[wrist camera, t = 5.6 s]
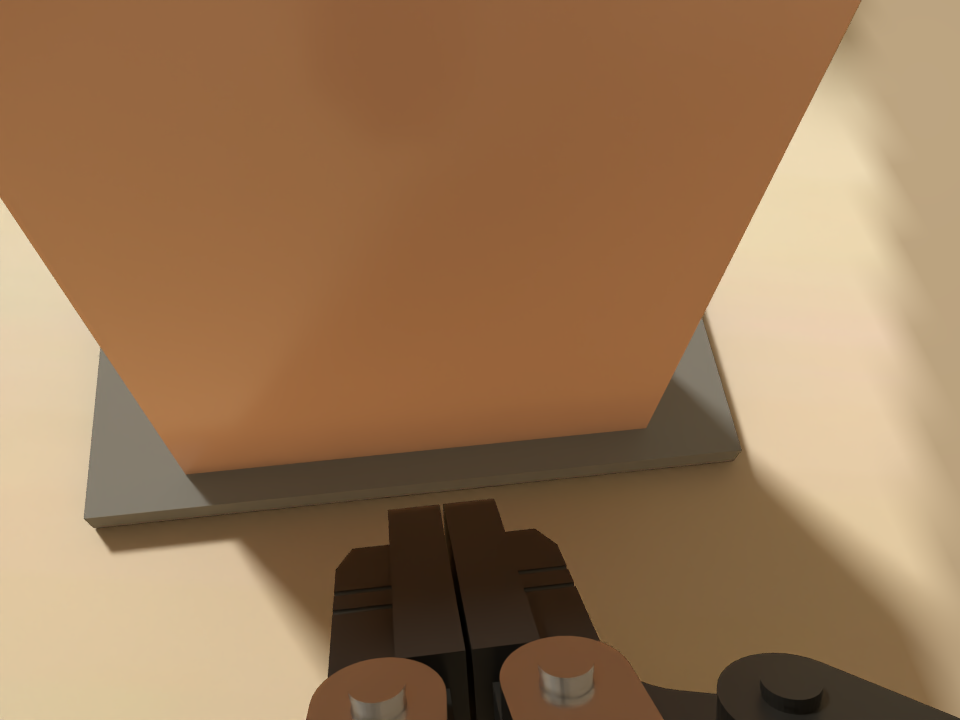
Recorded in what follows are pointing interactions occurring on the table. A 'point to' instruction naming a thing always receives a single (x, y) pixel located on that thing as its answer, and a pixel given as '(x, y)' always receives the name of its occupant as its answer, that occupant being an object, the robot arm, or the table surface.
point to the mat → (392, 457)
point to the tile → (396, 204)
